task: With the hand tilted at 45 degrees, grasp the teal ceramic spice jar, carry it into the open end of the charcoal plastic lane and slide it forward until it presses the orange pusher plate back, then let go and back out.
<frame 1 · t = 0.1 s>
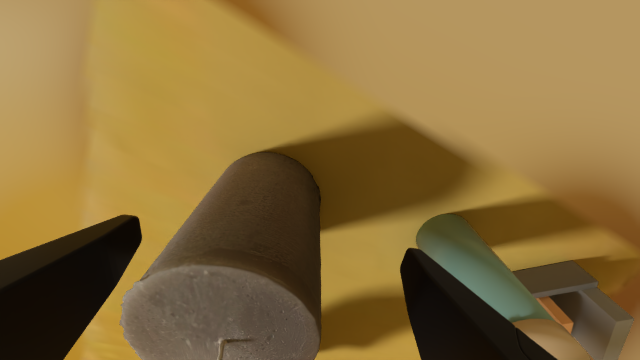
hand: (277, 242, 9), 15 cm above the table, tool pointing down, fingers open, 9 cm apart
pusher: (543, 321, 29), point 3 cm above the table, slide at 0.0 cm
pillar candle: (268, 198, 25), on the table
lane: (504, 298, 32), on the table
jar: (442, 236, 27), on the table
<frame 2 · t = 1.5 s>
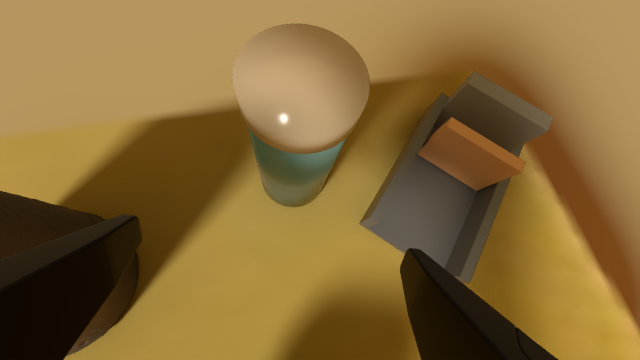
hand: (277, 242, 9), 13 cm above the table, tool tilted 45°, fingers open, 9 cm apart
pusher: (464, 157, 22), point 3 cm above the table, slide at 0.0 cm
pillar candle: (65, 282, 19), on the table
lane: (434, 187, 25), on the table
jar: (293, 176, 23), on the table
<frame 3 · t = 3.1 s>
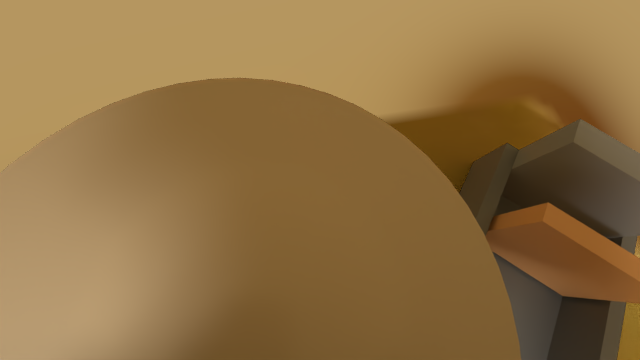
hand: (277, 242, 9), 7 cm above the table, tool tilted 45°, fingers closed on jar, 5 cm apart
pusher: (556, 255, 14), point 3 cm above the table, slide at 0.0 cm
lane: (496, 287, 16), on the table
jar: (276, 279, 15), on the table, touching gripper
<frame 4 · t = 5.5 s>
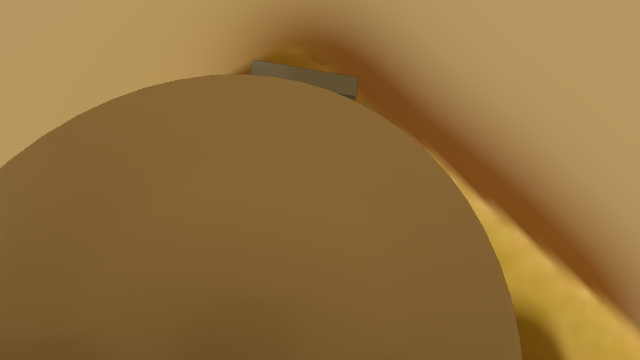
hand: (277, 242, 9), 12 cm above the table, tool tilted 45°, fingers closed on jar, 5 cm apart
lane: (290, 194, 22), on the table
jar: (276, 279, 15), point 5 cm above the table, touching gripper
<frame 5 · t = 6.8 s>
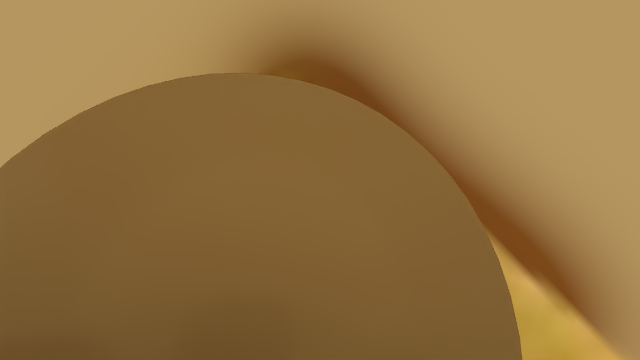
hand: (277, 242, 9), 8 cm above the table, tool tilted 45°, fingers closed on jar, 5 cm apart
jar: (277, 278, 15), point 1 cm above the table, touching gripper
when the fingers open (8 cm above the table, at t = 7.8 s): jar stays where it is, resting on lane.
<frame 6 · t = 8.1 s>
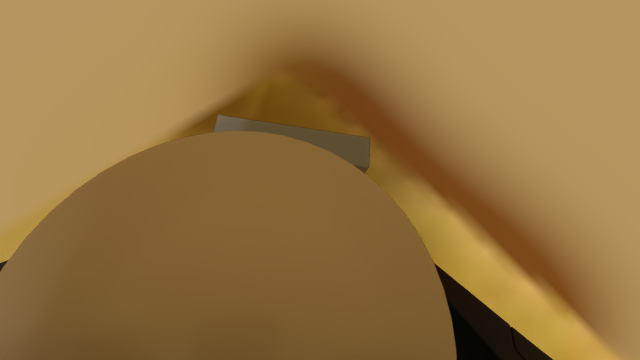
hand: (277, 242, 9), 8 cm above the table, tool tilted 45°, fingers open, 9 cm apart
lane: (276, 282, 16), on the table
jar: (276, 282, 16), point 1 cm above the table, touching lane
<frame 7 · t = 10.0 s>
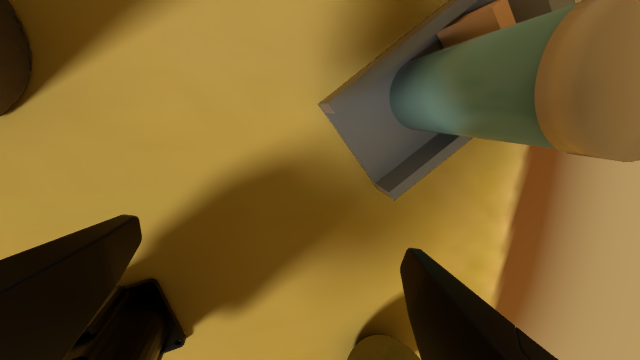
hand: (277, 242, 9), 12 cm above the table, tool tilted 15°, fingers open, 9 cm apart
pusher: (485, 61, 18), point 3 cm above the table, slide at 1.5 cm
lane: (418, 95, 21), on the table
apple: (368, 348, 27), on the table
jar: (422, 94, 21), point 1 cm above the table, touching lane
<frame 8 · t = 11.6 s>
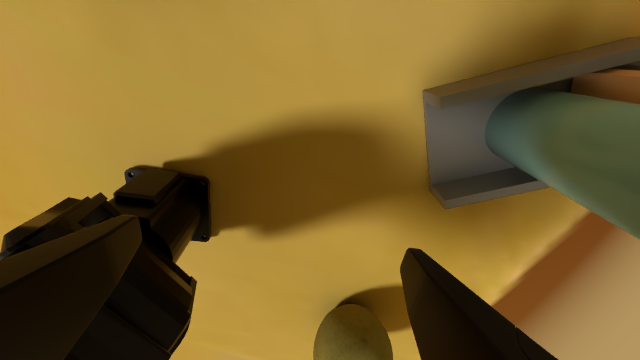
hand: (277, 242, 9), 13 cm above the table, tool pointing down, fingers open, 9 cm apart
pusher: (607, 123, 17), point 3 cm above the table, slide at 1.5 cm
lane: (517, 123, 21), on the table
apple: (346, 312, 30), on the table
jar: (522, 125, 20), resting on lane
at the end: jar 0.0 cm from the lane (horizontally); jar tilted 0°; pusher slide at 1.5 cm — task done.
